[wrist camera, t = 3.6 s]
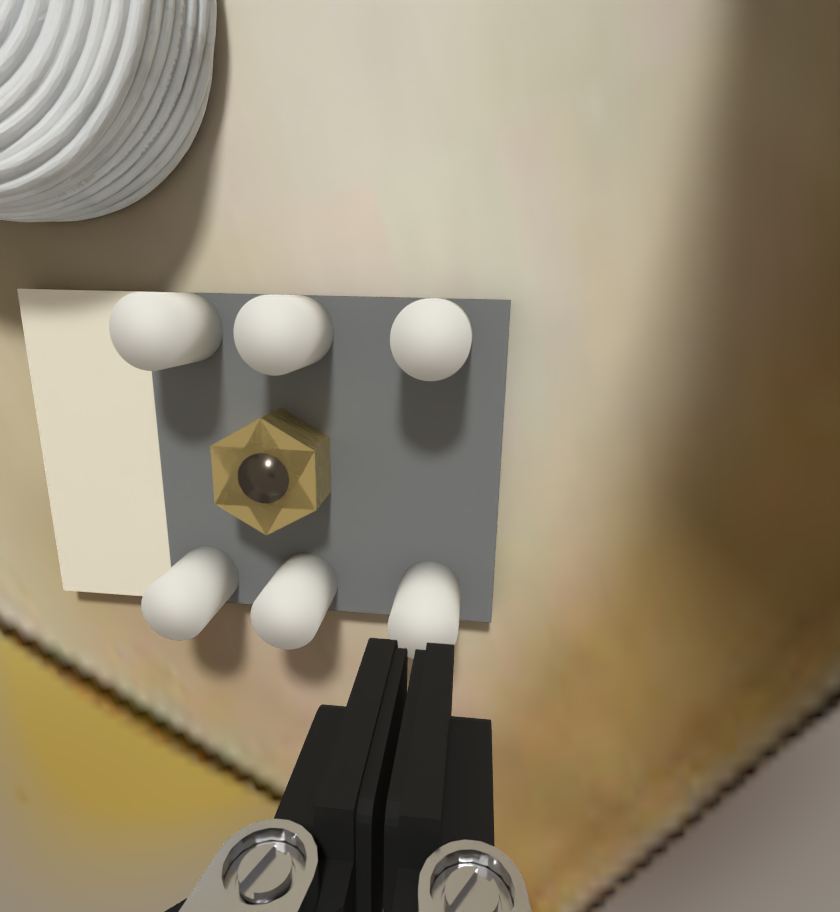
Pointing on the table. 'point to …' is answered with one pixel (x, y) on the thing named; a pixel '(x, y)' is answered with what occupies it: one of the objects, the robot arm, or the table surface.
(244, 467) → the nut
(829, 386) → the table surface
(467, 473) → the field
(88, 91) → the cable
